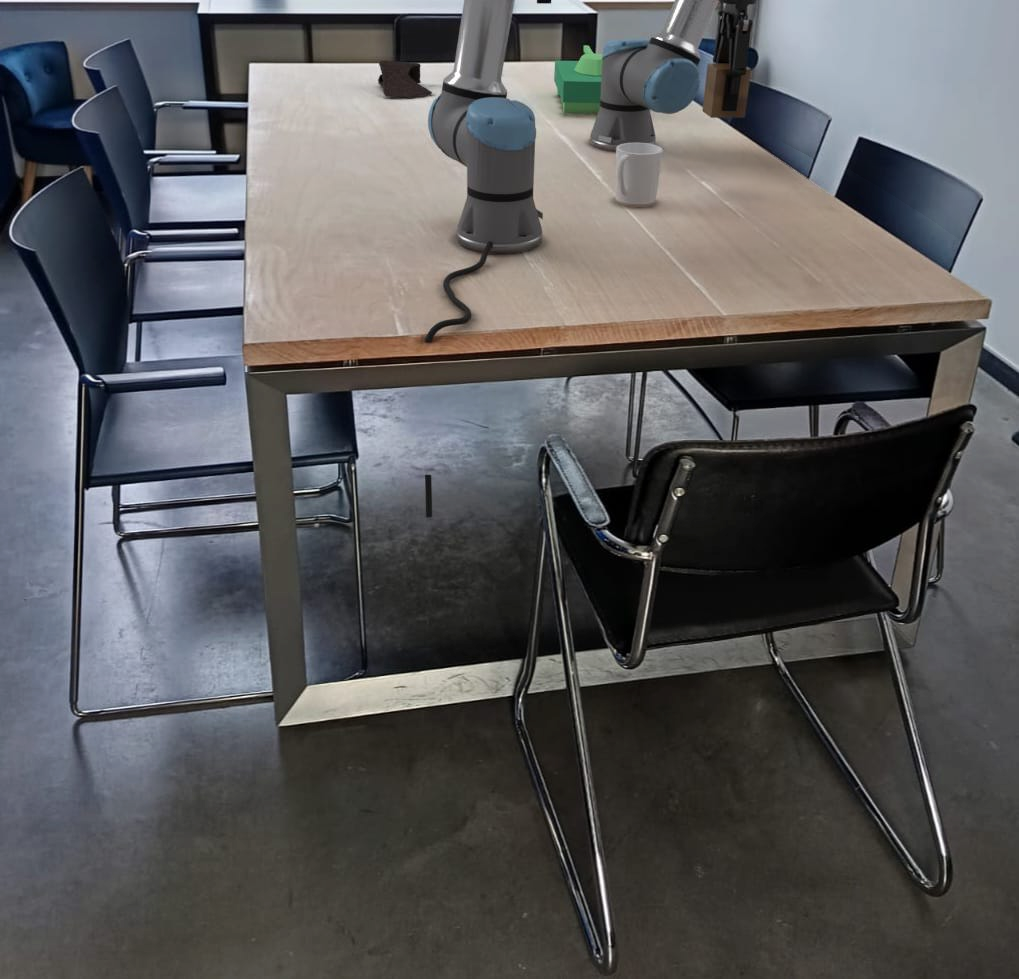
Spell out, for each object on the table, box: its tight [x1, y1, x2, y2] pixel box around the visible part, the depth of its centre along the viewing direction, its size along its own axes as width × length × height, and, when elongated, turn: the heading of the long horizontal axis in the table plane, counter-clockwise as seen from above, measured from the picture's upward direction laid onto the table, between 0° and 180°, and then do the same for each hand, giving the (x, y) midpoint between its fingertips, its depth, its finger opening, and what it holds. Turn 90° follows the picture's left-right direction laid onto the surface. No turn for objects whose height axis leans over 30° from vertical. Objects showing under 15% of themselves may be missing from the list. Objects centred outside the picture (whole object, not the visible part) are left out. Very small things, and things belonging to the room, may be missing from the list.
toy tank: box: [553, 44, 603, 115], centre depth 290 cm, size 18×12×35 cm
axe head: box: [377, 59, 433, 99], centre depth 299 cm, size 18×8×15 cm
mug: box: [614, 143, 664, 208], centre depth 214 cm, size 11×9×10 cm
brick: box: [701, 62, 752, 119], centre depth 217 cm, size 7×6×9 cm
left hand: (724, 106), depth 219 cm, fingers closed on brick, 6 cm apart
